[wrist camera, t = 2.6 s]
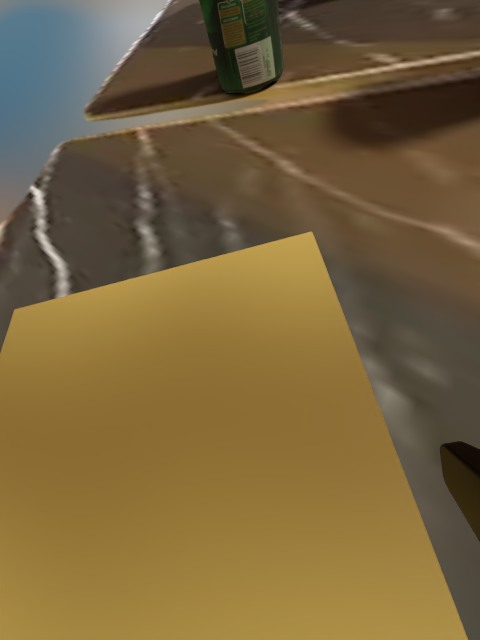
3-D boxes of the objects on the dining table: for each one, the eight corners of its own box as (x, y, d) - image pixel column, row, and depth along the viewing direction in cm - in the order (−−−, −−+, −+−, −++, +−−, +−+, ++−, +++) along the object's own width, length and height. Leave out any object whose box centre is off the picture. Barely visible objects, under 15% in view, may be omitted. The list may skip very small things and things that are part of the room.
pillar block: (350, 547, 13) (527, 792, 2) (234, 563, 13) (-154, 823, 2) (317, 424, 15) (312, 230, 5) (222, 442, 16) (14, 309, 5)
